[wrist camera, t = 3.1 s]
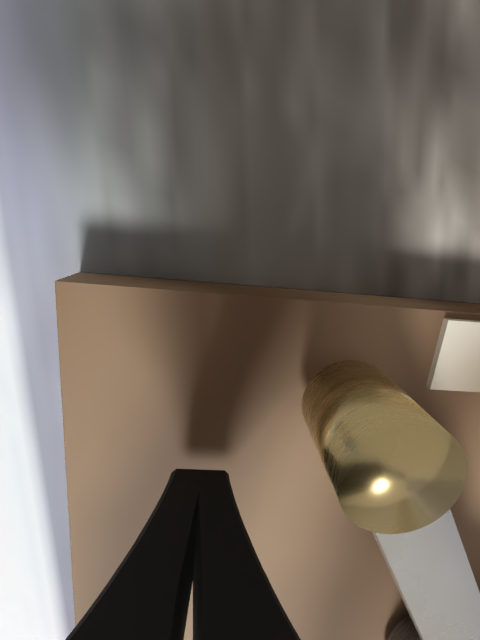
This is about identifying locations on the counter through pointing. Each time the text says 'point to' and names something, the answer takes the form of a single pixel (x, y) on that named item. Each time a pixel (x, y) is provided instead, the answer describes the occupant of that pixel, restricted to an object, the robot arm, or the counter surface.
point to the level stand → (249, 426)
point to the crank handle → (398, 492)
